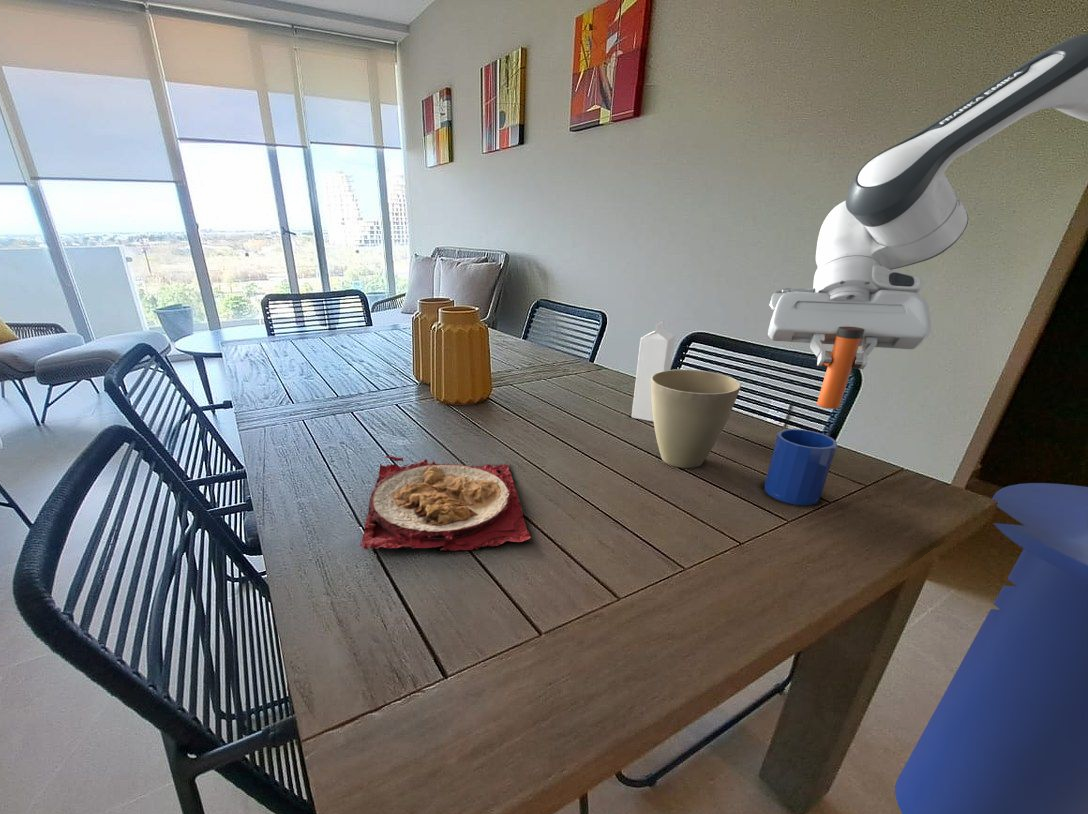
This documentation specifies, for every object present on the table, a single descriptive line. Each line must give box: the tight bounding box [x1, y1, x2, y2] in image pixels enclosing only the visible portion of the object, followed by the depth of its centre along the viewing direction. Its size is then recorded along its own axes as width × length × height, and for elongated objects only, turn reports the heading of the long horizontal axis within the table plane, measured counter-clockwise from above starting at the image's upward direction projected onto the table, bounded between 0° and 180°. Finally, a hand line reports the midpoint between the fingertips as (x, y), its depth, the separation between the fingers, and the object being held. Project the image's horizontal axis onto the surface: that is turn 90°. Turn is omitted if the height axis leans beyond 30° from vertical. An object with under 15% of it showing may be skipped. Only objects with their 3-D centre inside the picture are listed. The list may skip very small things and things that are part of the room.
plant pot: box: [651, 368, 742, 469], centre depth 89 cm, size 15×15×16 cm
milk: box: [631, 320, 676, 423], centre depth 109 cm, size 6×6×22 cm
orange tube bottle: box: [816, 327, 865, 410], centre depth 72 cm, size 3×3×12 cm
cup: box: [763, 428, 838, 506], centre depth 78 cm, size 8×8×10 cm
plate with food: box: [359, 455, 532, 552], centre depth 77 cm, size 24×26×4 cm
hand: (841, 365), depth 72 cm, fingers closed on orange tube bottle, 3 cm apart
